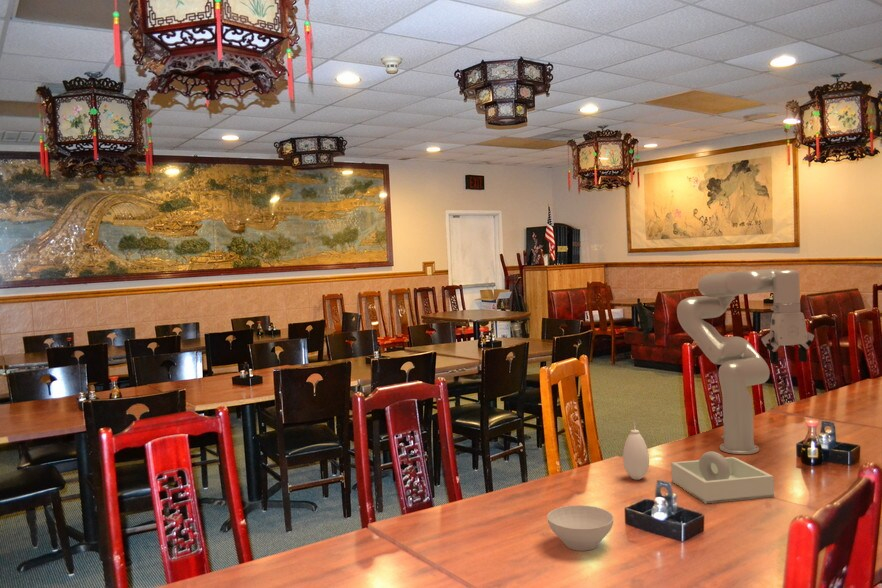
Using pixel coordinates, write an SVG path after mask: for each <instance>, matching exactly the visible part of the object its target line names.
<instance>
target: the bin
mask: <svg viewBox="0 0 882 588" xmlns="http://www.w3.org/2000/svg"><path fill="white" fill-rule="evenodd" d="M724 458H725V459H726V460H727V462H728V464H729V467H730V476H729V479H723V480H713V481H706V480H705V479H704V477H703V476H702V474H701V472H700V469H699V461H700V459H697V460H685V461H684V460H683V461H674V462H671V463H670V464H671V469H670V470H671V483H673V484H674V483H675V484H674V485H676V484H677V485H679V486H680V487H682V488H683V489H684V490H683V489H682V488H681V489H682V490H683V491H685V490H686V491H687V493H688V492H689V493H688V494H689V495H691V494H692V496H693V497H694V496H695V497H694V498H696V499H697V498H698V499H697V500H699V501H700V500H701V501H700V502H702V503H703V502H704V503H703V504H705V505H708V504H707V503H712V504H718V503H717V502H722V503H729V502H728V501H731V502H739V501H738V500H741V501H749V500H757V499H758V500H759V499H770V498H775V489H774V481H775V480H774V475H772V474H769V472H766V471H764V470H762V469H760V468H757V467H756V466H754V465H751V464H749V463H747V462H745V461H743V460H741V459H739V458H737V457H735V456H727V457H724ZM711 469H712V471H713V472H714V473H715V474H717V473H718V469H717V466H716V465H715V464H714V463H711ZM677 485H676V486H677ZM679 486H678V487H679ZM680 487H679V488H680ZM686 491H685V492H686Z"/></svg>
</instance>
